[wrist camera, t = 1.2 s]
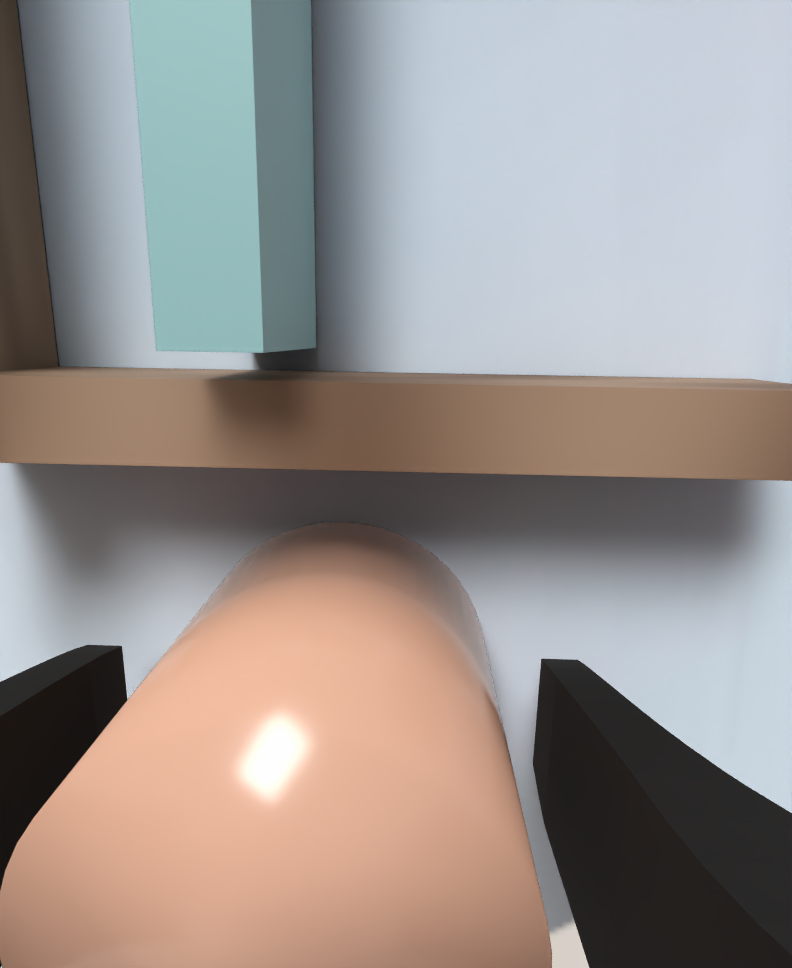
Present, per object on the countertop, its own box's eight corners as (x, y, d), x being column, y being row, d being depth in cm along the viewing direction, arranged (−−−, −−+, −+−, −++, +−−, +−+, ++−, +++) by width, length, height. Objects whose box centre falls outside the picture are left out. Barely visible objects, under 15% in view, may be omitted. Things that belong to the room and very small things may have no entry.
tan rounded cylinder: (491, 525, 11) (575, 734, 5) (476, 780, 12) (532, 1176, 6) (196, 518, 11) (-45, 714, 5) (212, 771, 12) (33, 1150, 7)
